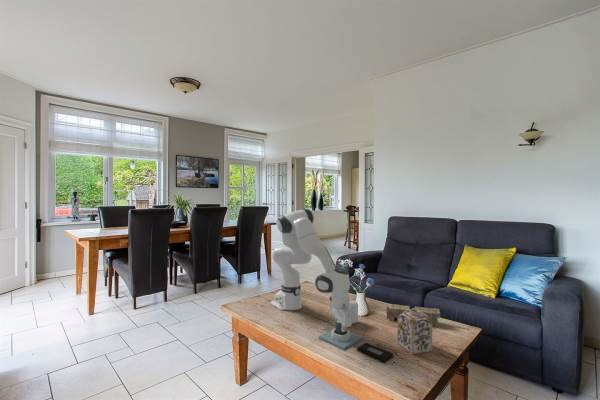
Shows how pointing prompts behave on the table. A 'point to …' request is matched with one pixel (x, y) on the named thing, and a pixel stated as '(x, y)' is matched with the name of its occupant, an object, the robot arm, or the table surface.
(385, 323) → the table surface
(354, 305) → the photo printer
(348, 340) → the dock
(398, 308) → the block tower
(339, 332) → the dark grey block
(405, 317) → the decorative jar
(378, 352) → the vhs tape
